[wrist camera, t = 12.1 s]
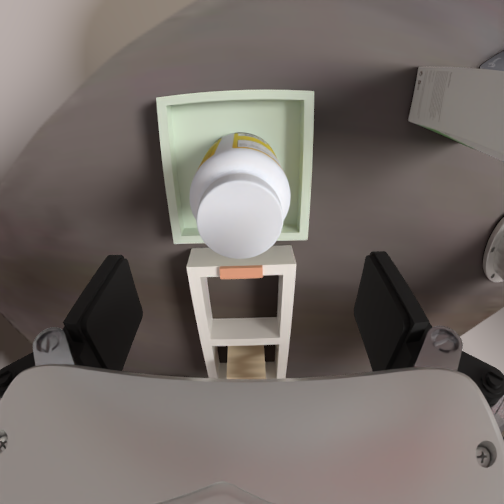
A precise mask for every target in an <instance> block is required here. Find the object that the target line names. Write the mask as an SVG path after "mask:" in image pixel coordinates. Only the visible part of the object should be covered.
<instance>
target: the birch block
mask: <svg viewBox="0 0 504 504" xmlns="http://www.w3.org/2000/svg"><path fill="white" fill-rule="evenodd" d="M227 379H266V370H265V355H264V345H249V346H228V355H227Z"/></svg>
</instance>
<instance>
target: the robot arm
mask: <svg viewBox="0 0 504 504" xmlns="http://www.w3.org/2000/svg"><path fill="white" fill-rule="evenodd" d="M483 270H484V273H485V275H486V276H487V277H488V279H489V280H491V281H492V282H502V281H504V217H503V218H502V219H501V220H500V222H499V223H498V224H497V226H496V227H495V229H494V231H493V232H492V234H491V236H490V238H489V240H488V243H487V246H486V249H485V252H484V258H483ZM142 316H143V311H142V307H141V304H140V301H139V298H138V294H137V291H136V288H135V285H134V281H133V278H132V274H131V271H130V267H129V263H128V260H127V259H124V257H123V256H122V255H108V256H107V258H106V259H105V260H104V262H103V263H102V265H101V266H100V267H99V269H98V270H97V272H96V273H95V275H94V276H93V277H92V279H91V280H90V282H89V283H88V285H87V286H86V288H85V289H84V291H83V292H82V294H81V295H80V297H79V298H78V300H77V301H76V303H75V304H74V306H73V308H72V309H71V311H70V312H69V314H68V316H67V317H66V319H65V320H64V322H63V323H64V325H65V326H64V328H63V330H62V329H60V328H57V327H52V328H48V329H45V330H44V331H42V332H41V333H40V334H39V335H37V337H36V338H35V340H34V342H33V353H31V354H29V355H27V356H25V357H23V358H21V359H19V360H17V361H15V362H13V363H12V364H10V365H8V366H6V367H4V368H2V369H1V370H0V504H504V375H503V374H502V373H501V371H499V370H498V369H497V368H495V367H493V366H491V365H489V364H487V363H485V362H483V361H481V360H479V359H477V358H475V357H473V356H471V355H469V354H467V353H465V352H463V351H462V346H463V345H462V340H461V338H460V337H459V335H458V334H457V333H456V332H455V331H454V330H452V329H450V328H448V327H444V326H436V327H433V328H432V326H431V324H430V323H429V320H428V318H427V317H426V315H425V313H424V311H423V310H422V308H421V306H420V305H419V303H418V301H417V300H416V298H415V296H414V295H413V293H412V291H411V290H410V288H409V286H408V285H407V283H406V282H405V280H404V279H403V277H402V275H401V274H400V272H399V271H398V269H397V268H396V266H395V265H394V263H393V262H392V260H391V259H390V257H389V256H388V254H387V253H386V252H384V251H383V252H371V253H370V255H367V256H366V259H365V263H364V268H363V273H362V277H361V282H360V286H359V290H358V295H357V299H356V303H355V307H354V316H355V319H356V322H357V325H358V328H359V331H360V334H361V336H362V339H363V342H364V345H365V348H366V351H367V354H368V357H369V360H370V364H371V367H372V370H373V372H365V373H355V374H344V375H333V376H320V377H305V378H281V379H215V378H193V377H177V376H164V375H153V374H143V373H134V372H126V371H122V369H123V367H124V364H125V361H126V358H127V356H128V353H129V350H130V348H131V345H132V342H133V340H134V337H135V335H136V332H137V330H138V327H139V324H140V322H141V319H142Z"/></svg>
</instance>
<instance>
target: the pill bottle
mask: <svg viewBox="0 0 504 504" xmlns="http://www.w3.org/2000/svg"><path fill="white" fill-rule="evenodd" d="M290 198H291V194H290V187H289V183H288V180H287V177H286V175H285V173H284V171H283V169H282V167H281V165H280V163H279V161H278V159H277V157H276V155H275V153H274V151H273V149H272V148H271V147H270V145H269V144H268V143H267V142H266V141H264V140H263V139H262V138H260V137H258V136H256V135H253V134H250V133H244V132H237V133H231V134H228V135H225V136H223V137H221V138H220V139H218V140H217V141H216V142H215V143H214V144H213V145H212V146H211V147H210V148H209V150H208V151H207V153H206V155H205V156H204V158H203V160H202V162H201V164H200V166H199V168H198V169H197V171H196V173H195V175H194V177H193V180H192V183H191V187H190V197H189V199H190V207H191V210H192V213H193V215H194V218H195V219H196V223H197V229H198V232H199V234H200V236H201V238H202V240H203V241H204V242H205V244H206V245H207V246H208V247H209V248H210V249H212V250H213V251H214V252H216V253H218V254H220V255H222V256H225V257H228V258H235V259H246V258H251V257H255V256H257V255H260V254H262V253H263V252H265V251H267V250H268V249H269V248H270V247H271V246H272V245H273V244H274V243H275V242H276V241H277V239H278V238H279V236H280V234H281V231H282V227H283V221H284V219H285V217H286V215H287V213H288V210H289V206H290Z"/></svg>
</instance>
